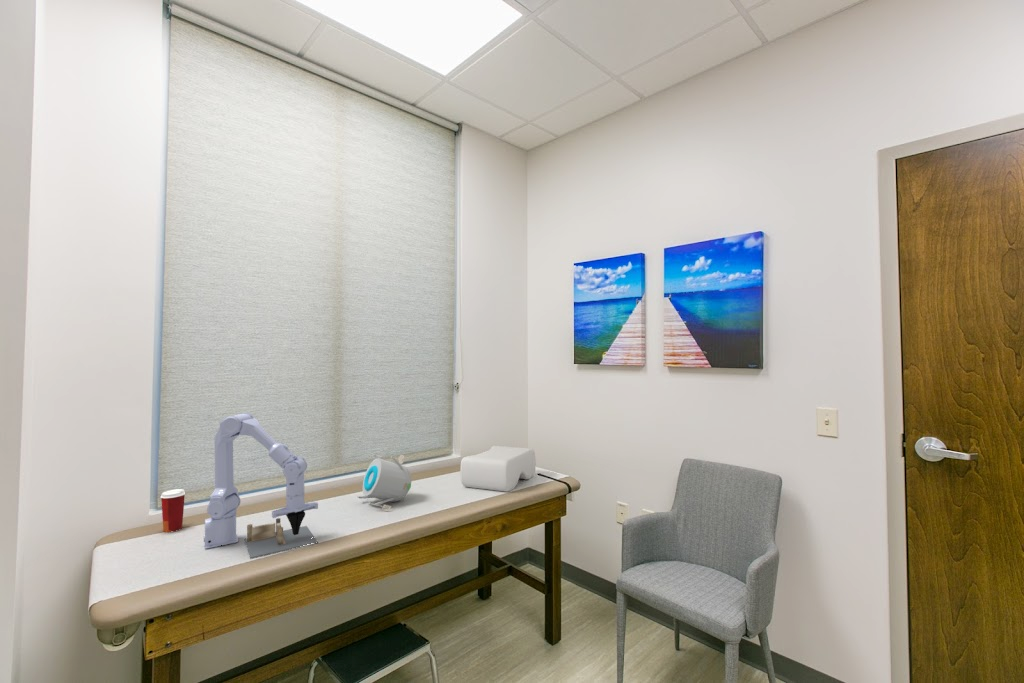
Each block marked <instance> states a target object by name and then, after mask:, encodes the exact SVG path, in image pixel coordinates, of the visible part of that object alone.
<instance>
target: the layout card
mask: <svg viewBox="0 0 1024 683" xmlns="http://www.w3.org/2000/svg"><path fill="white" fill-rule="evenodd" d="M312 537H313V538H312ZM314 537H315V536H314V533H312V531H311V530H310V528H309V527H308V526H307V525H304V526H300V529H299V534H297V535H294V534H293V532H292V528H289V529H285V530H284V529H283V543H282V544H278V539H277V534H276V531H275V536H272V537H267V538H263V539H258V540H253V541H250V542H247V537H246V538H244V541H245V542H244V543H245V545H247V546H246V548H248V549H247V552H248V555H250V556H249V558H250V560H251V558H252V559H255V558H254V557H256V558H259V557H258V556H260V557H264V556H268V554H269V555H272V554H271V553H273V554H277V553H281V552H280V551H282V552H286V551H290V550H293V549H292V548H295V549H297V548H296V547H299V548H301V547H300V546H303V545H307V544H311V543H316V542H318V543H319V541H318V540H317V539H316V537H315V538H314ZM311 538H312V539H311ZM316 544H317V543H316ZM303 547H304V546H303ZM289 549H290V550H289ZM285 550H286V551H285ZM276 552H277V553H276ZM263 555H264V556H263Z"/></svg>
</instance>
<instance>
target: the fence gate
mask: <svg viewBox="0 0 1024 683" xmlns="http://www.w3.org/2000/svg"><path fill="white" fill-rule="evenodd" d="M283 531H284V527H283V526H282V524H281V517H278V518H277V517H276V518H275V532H276V534H277V539H278V544H282V543H283Z"/></svg>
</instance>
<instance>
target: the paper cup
mask: <svg viewBox="0 0 1024 683" xmlns="http://www.w3.org/2000/svg"><path fill="white" fill-rule="evenodd" d="M185 495H186V491H185V489H183V488H182V489H181V488H179V489H178V488H177V489H171V490H165V491H164V492H163V491H162V493H161V496H159V498H160V500H161V514H162V516H161V518H162V529H163V532H164V533H172V532H171V531H174V532H177V531H176V530H178V531H179V529H180V530H181V528H183V522H184V512H185V511H184V508H185Z"/></svg>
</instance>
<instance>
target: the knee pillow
mask: <svg viewBox="0 0 1024 683" xmlns="http://www.w3.org/2000/svg"><path fill="white" fill-rule="evenodd" d="M536 462H537V461H536V451H535V449H533V448H531V447H529V448H528V447H517V446H516V447H515V446H501V445H492V446H491V447H490V449H489V450H486V451H483V452H480V453H478V454H473V455H472V454H471V455H468V456H467V455H466V456H464V457H463V458H462V459H461V461H460V473H459V474H460V482H461V484H462V485H463V487H466V488H471V489H481V490H487V491H488V490H489V491H498V492H511V491H513V490H514V489H515V488H516V486H517V485H518V482H519V481H520V480H530V479H532V478H533V477H534V476H535V473H536Z"/></svg>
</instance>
